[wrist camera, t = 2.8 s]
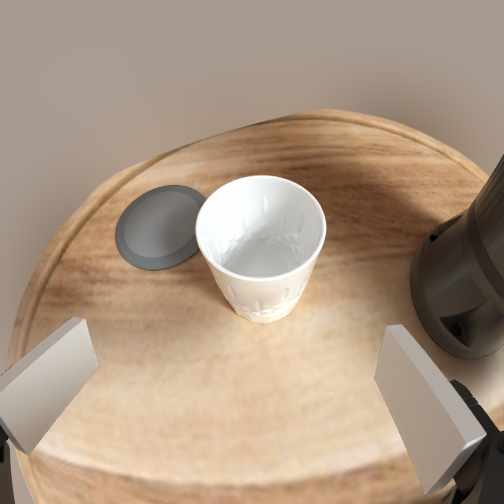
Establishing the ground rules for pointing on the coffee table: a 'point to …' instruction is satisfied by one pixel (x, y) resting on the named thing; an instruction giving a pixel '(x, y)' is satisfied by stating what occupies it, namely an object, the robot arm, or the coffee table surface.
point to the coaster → (160, 228)
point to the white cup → (261, 243)
